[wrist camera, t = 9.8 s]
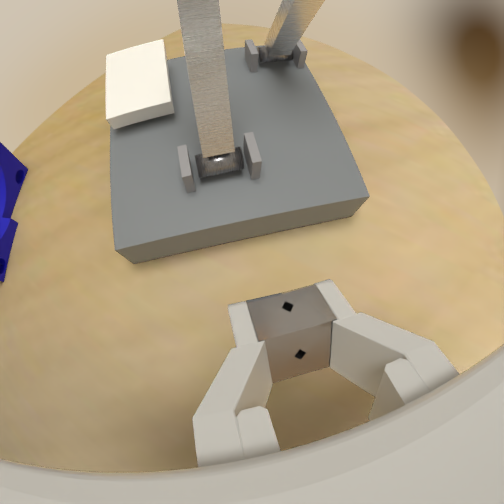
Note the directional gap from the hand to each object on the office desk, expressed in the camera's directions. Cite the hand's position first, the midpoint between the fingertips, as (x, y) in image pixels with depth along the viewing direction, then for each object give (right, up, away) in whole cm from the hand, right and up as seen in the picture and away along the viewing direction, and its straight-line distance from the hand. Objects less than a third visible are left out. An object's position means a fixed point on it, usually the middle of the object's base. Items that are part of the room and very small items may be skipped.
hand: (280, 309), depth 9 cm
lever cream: (+1, +19, +14) cm, 24 cm away
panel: (-3, +11, +17) cm, 20 cm away
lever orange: (-3, +8, +11) cm, 13 cm away
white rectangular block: (-10, +15, +11) cm, 21 cm away
